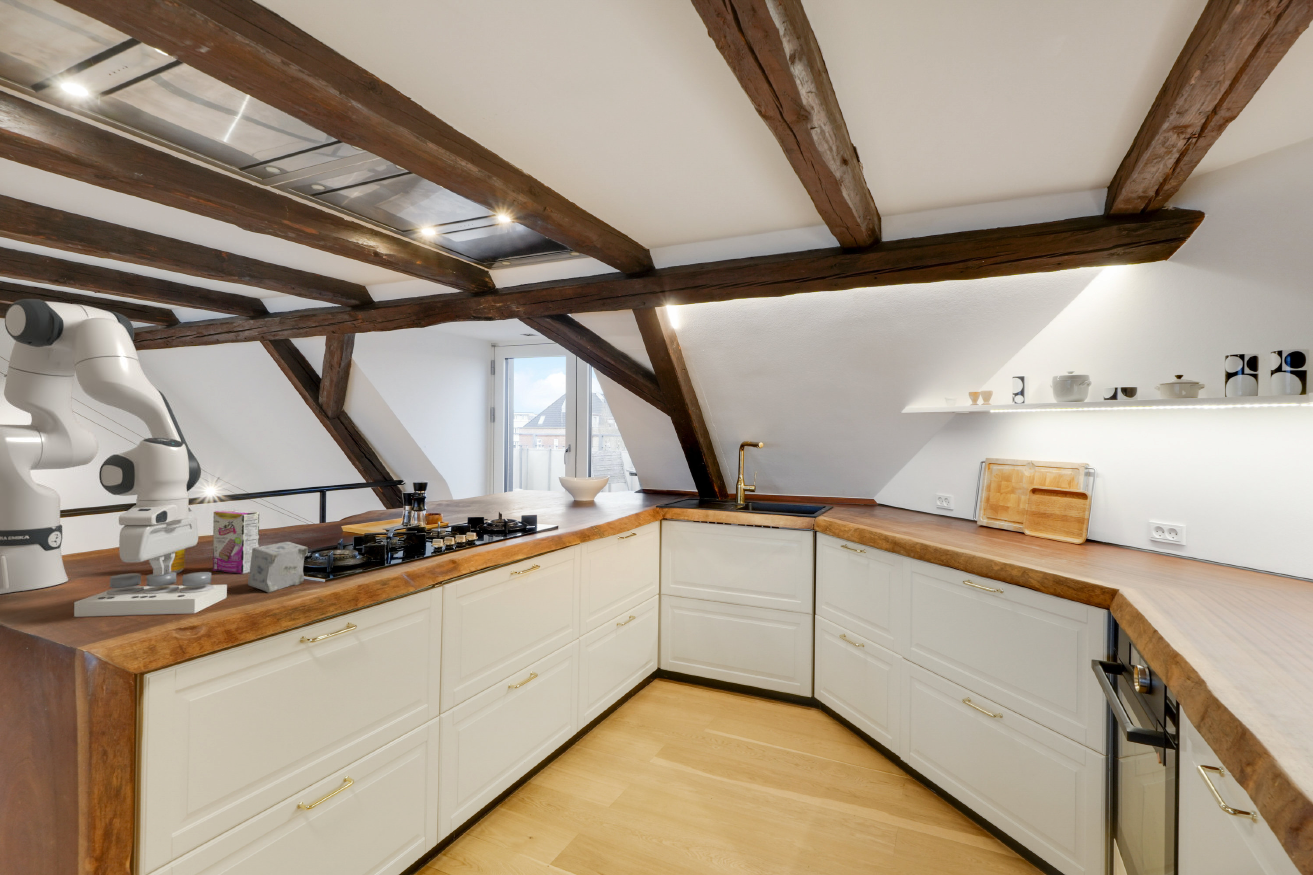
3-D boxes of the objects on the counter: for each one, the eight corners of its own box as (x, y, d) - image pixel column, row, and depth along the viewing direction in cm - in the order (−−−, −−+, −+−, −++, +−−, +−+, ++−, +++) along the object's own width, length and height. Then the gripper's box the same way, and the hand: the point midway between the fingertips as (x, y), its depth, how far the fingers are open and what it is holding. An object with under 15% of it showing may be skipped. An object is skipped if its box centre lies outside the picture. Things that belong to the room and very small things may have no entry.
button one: (177, 586, 127) (177, 577, 127) (191, 581, 132) (191, 572, 132) (202, 586, 128) (202, 576, 128) (215, 580, 133) (216, 571, 133)
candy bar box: (211, 571, 159) (212, 511, 159) (229, 567, 164) (230, 509, 164) (242, 574, 156) (243, 513, 156) (259, 570, 161) (260, 511, 161)
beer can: (167, 575, 154) (168, 518, 154) (149, 573, 155) (150, 517, 155) (190, 570, 160) (191, 515, 160) (172, 568, 161) (173, 514, 161)
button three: (140, 586, 126) (140, 577, 126) (156, 581, 131) (156, 572, 131) (166, 586, 127) (166, 577, 127) (181, 580, 132) (181, 571, 132)
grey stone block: (271, 593, 139) (272, 550, 139) (246, 590, 141) (247, 547, 141) (308, 584, 148) (309, 543, 148) (284, 580, 151) (285, 540, 151)
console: (74, 616, 119) (74, 600, 119) (118, 600, 131) (118, 585, 131) (194, 613, 123) (194, 597, 123) (226, 597, 135) (226, 582, 135)
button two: (103, 588, 125) (103, 579, 125) (121, 582, 130) (121, 573, 130) (130, 587, 126) (130, 578, 126) (146, 582, 131) (146, 573, 131)
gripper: (177, 506, 139) (176, 564, 139) (112, 518, 118) (111, 586, 118) (206, 506, 140) (206, 563, 140) (147, 517, 119) (146, 585, 119)
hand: (162, 574), depth 129 cm, fingers closed
